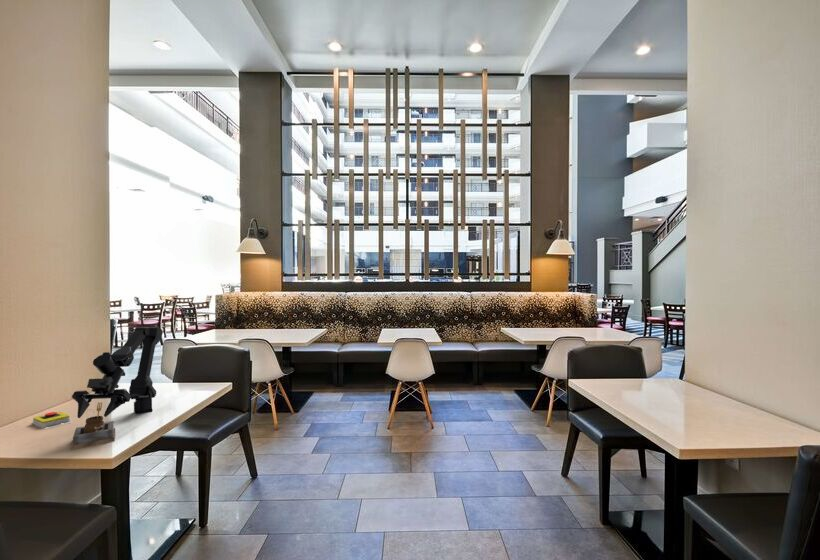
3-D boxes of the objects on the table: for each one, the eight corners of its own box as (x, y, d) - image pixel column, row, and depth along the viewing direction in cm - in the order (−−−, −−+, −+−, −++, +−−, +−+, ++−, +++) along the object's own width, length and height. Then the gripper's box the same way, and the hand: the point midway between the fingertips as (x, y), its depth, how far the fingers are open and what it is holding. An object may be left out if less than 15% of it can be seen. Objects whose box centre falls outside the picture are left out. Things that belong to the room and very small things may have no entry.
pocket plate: (115, 430, 158) (114, 420, 158) (114, 440, 148) (114, 429, 148) (74, 438, 151) (74, 427, 151) (71, 449, 141) (71, 437, 141)
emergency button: (58, 408, 177) (73, 413, 169) (58, 417, 177) (73, 423, 169) (30, 414, 169) (44, 420, 161) (30, 424, 169) (45, 430, 161)
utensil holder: (80, 440, 147) (79, 407, 147) (92, 433, 153) (92, 402, 153) (97, 439, 147) (96, 407, 147) (108, 432, 153) (108, 401, 153)
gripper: (74, 370, 153) (52, 407, 142) (126, 368, 155) (108, 405, 144) (89, 385, 161) (69, 422, 150) (138, 383, 163) (121, 419, 152)
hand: (91, 416), depth 149 cm, fingers open, 9 cm apart
